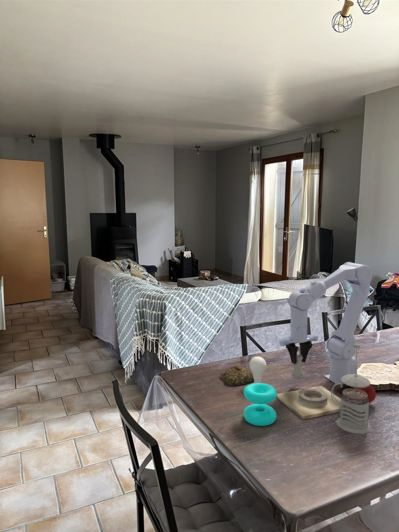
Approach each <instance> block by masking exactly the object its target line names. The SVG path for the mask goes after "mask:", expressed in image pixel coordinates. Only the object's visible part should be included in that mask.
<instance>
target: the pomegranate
mask: <svg viewBox="0 0 399 532" xmlns="http://www.w3.org/2000/svg"><path fill="white" fill-rule="evenodd" d="M356 389H359V390H362V391H364V392H366V393H367V394H368V399H369V404H370V403H373V402H374V401H375V399H376V396H377V394H376V390H375V387H374V386H372V385H371V384H370V385H369V386H368V387H365V388H357V387H356ZM360 402H362V403H363V404H365V403H364V402H363V401H362V400H360Z"/></svg>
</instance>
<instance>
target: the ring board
mask: <svg viewBox="0 0 399 532" xmlns="http://www.w3.org/2000/svg"><path fill="white" fill-rule="evenodd" d="M333 394H334V393H332V397H331V390H329V389H326V388H325V387H324V386H322V385H318V386H313V387H307V388H302V389H296V390H291V391H285V392H280V393H277V396H276V398H277V399H278V400H279V401H281V402H282V403H283V404H284V405H285V406H287V408H288V409H289V410H291V411H292V412H293V413H294V414H296V415H297V416H298V417H299V418H300V419H302V420H307V419H312V418H317V417H321V416H327V415H330V414H335V413H340V407H341V404H339V403H341V398H340V397H339V396H337V395H335V394H334V397H335V399H336V400H337V401H338V402H339V403H338V402H337V401H336V400H335V399H334V397H333ZM332 398H333V400H334V402H335V403H336V404H338V405H339V406H340V407H339V406H338V405H336V404H335V403H334V402H333V400H332ZM347 407H349V406H346V408H347ZM349 409H350V410H352V408H349Z"/></svg>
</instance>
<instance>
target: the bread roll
mask: <svg viewBox="0 0 399 532" xmlns="http://www.w3.org/2000/svg"><path fill="white" fill-rule="evenodd" d="M219 376H220V377H219V378H220V381H222V382H223V383H224V385H227V386H228V387H229V386H232V387H233V386H241V385H246V384H249V383H252V382H253V383H254V378H253V373H252V371H251V369H250V370H249V368H246V367H244V366H241V365H232V366H230V367H228V368H227V369H226V370H225V371H223V372H221V373H220V375H219Z"/></svg>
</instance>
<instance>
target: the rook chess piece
mask: <svg viewBox="0 0 399 532" xmlns="http://www.w3.org/2000/svg"><path fill="white" fill-rule="evenodd" d="M302 359H303V357H302V355H300V353H297V362H296V364H293V365H294V367H293V369H292V371H291V374H290V375H291V377H293V378H294V379H300V380H301V379H303V378H304V377H305V373H304V370H303V367H302V365H303V362H302Z"/></svg>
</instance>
